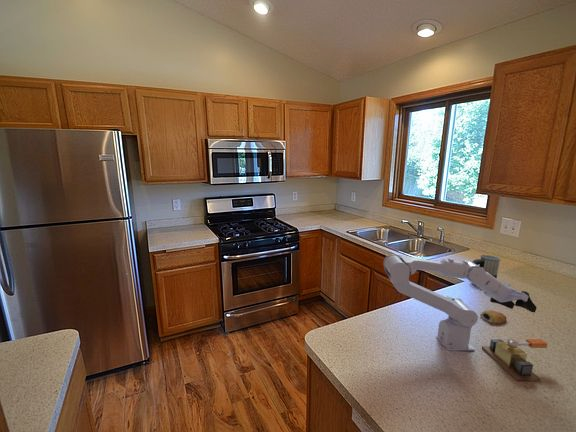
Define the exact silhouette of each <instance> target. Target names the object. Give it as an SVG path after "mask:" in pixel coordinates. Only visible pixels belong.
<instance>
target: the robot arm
mask: <svg viewBox="0 0 576 432" xmlns="http://www.w3.org/2000/svg"><path fill="white" fill-rule="evenodd" d="M383 268H384V271H385V274H387V276H388V278H389V279H390V281H391V283H392V285H393V287H394V289H396V290H397V292H398V293H400V294H402V295H404V296H407V297H409V298H411V299H413V300H416V301H418V302H420V303H422V304H425V305H427V306H430V307H432V308H433V309H435V310H439V311H441V312H443V313H445V314H446V315H448V316H447V318H446V319H443V320H439V323H438V330H437V335H436V336H435V338H437V340H438V341H439V342H440V343H441V344H442V345H443V346H444V348H445V349H446V350H448V351H475V347H473V346H472V345H471V344H470V339H471V332H472V328H473V326H474V325H476V324H477V323H478V319H479V316H478V314H477V312H476V311H474V309H473V310H472V309H471V308H470V307H469V305H467V303H465V302H464V301H463V299H461V298H458V297H451V296H449V295H447V296H444V295H441V294H439V293H437V292H436V291H432V290H431V289H428V288H426V287H424V286H422V285H419V284H417V283H414V282H412V281H410V275H411V276H412V275H414V274H415V272H417V271H428V272H438V273H439V274H440V275H441V277H447V278H454V279H455V278H456V279H463V280H465V279H466V280H468V281H469V282H470V283H471V284H474V285H475V286H477V287H478V288H479V289H481V290H482V291H484V292H483V294H484V296H486V297H488V298H489V297H490V299H489V301H490V302H491V303H493V304H494V303H495V304H497V305H498V304H499V305H500V306H504V307H505V308H508V309H511V310H513V309H514V307H517V308H518V307H519V308H523V309H525V310H527V311H529V312H530V313H531V312H532V313H536V311H537V308H538V307H537V305H535V303H534V302H533V301H532V298H531V296H530V293H529V292H527V291H524V290H521V291H518V290H517V289H514V288H513V287H511V284H510V283H508V282H507V283H506V282H505V283H503V282H501V281H500V280H499V279H498V278H497V279H496V278H495V277H493V276H492V275H490V274H489V273H487V272H486V271H485V270H484V269H483V268H481V267H479V265H476V264H474V263H473V261H470V260H468V259H466V260H463V261H459V260H454V259H453V258H452V257H448V258H447V259H442V260H440V261H435V260H430V259H424V258H419V257H414V256H413V257H412V256H408V255H404V254H398V255H397V254H392V253H391V254H388V255H387V256H385V258H384V259H383ZM514 301H515V302H514Z"/></svg>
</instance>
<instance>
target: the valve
mask: <svg viewBox="0 0 576 432" xmlns="http://www.w3.org/2000/svg"><path fill="white" fill-rule="evenodd" d="M489 344H490V345H489V346H490V348H489V349H490V350H492V351H495V356H496V357H497V358H499V359H500V360H501V361H502V362H503V363H504V364H505V365H506V366H507V367H509V368H514V369H515V370H516V373H518V374H519V375H531V374H532V372H533V370H534V369H533V368H534V364H533V363H532V362H530V361H527V356H528V354H527V353H526V352H525V351H524V350H523V349H521V348H519V346H517V348H512V347H510V346H508V345H507V341H504V340H503V339H502V338H501V339H500V338H499V339H498V338H493V339H490V343H489Z"/></svg>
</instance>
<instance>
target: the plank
mask: <svg viewBox="0 0 576 432" xmlns="http://www.w3.org/2000/svg"><path fill="white" fill-rule="evenodd" d="M489 348H490V345H488V346H487V345H483V346H481V349H482V350H483V351H484V352H485V353H486V354H487V355H488V356H490V357H491V358H492V359H493V360H494V361H495V362H496V363H497V364H498V365H499V366H501V367H502V368H503V369H504V370H505V372H506V373H508V374H509V375H510V376H511V377H512V378H513V379H515V380H516V381H517V382H540V381H541V378H540V377H539V376H538V374H536V373H534V372H533V371H532V374H531V375H519V374H518V373H516V370H515V369H514V368H509V367H507V366H506V365H505V364H504V363H503V362H502V361H501V360H500V359H499V358H497V357H496V356H495V351H492V350H490V349H489Z"/></svg>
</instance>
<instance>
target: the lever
mask: <svg viewBox="0 0 576 432" xmlns="http://www.w3.org/2000/svg"><path fill="white" fill-rule="evenodd" d="M506 342H507V345H508V346H510V347H512V348H517V347H522V346H523V347H524V346H525V347H526V346H528V347H529V348H531V349H547V348H548V345H549V344H548V342H546V341H545V340H544V339H541V338H538V339H537V338H536V339H535V338H532V339H531V338H527V339H525V341H518V340H517V341H516V340H514V339H510V338H508V339H507V341H506Z"/></svg>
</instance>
